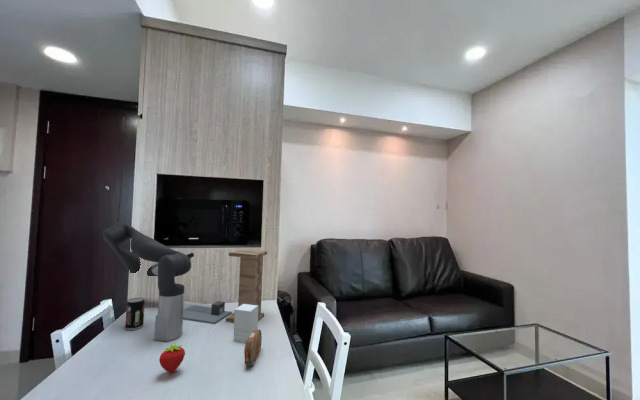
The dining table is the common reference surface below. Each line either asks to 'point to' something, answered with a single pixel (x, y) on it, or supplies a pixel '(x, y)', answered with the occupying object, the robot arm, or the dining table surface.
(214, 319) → the charcoal mat
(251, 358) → the tin
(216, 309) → the steel bar
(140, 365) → the dining table surface
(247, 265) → the walnut shelf stand
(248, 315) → the supplement box
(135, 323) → the beverage can
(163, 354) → the strawberry
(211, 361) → the dining table surface
